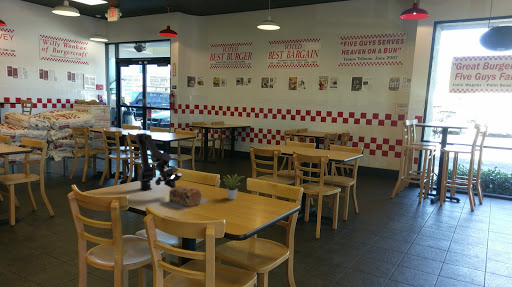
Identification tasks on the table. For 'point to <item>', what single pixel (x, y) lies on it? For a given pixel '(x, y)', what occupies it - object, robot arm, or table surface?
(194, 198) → the bread
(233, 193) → the house plant
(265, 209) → the table surface
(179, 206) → the serving mat
